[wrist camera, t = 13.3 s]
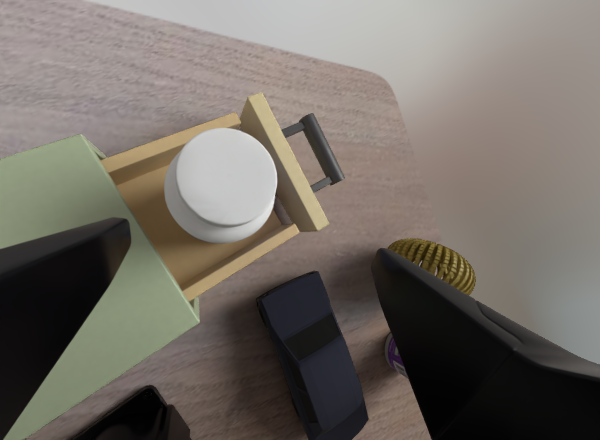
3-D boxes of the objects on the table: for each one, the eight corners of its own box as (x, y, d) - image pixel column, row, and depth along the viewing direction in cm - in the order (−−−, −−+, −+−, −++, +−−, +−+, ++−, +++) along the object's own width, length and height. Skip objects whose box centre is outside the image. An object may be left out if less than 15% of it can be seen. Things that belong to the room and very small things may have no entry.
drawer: (289, 103, 23) (308, 75, 19) (340, 205, 24) (368, 199, 21) (75, 184, 17) (37, 167, 13) (161, 316, 18) (151, 337, 14)
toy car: (307, 265, 24) (334, 272, 19) (354, 402, 25) (391, 441, 20) (249, 292, 21) (264, 307, 17) (304, 442, 22) (332, 495, 18)
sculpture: (424, 266, 29) (501, 275, 22) (412, 297, 28) (488, 319, 21) (376, 231, 27) (444, 229, 20) (361, 264, 26) (427, 275, 19)
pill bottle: (264, 216, 20) (317, 199, 11) (206, 256, 18) (214, 276, 9) (224, 158, 19) (247, 90, 10) (158, 195, 17) (118, 150, 8)
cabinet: (115, 163, 18) (80, 132, 13) (199, 299, 20) (200, 322, 14) (-180, 273, 13) (-453, 299, 8) (-34, 445, 15) (-171, 569, 9)
